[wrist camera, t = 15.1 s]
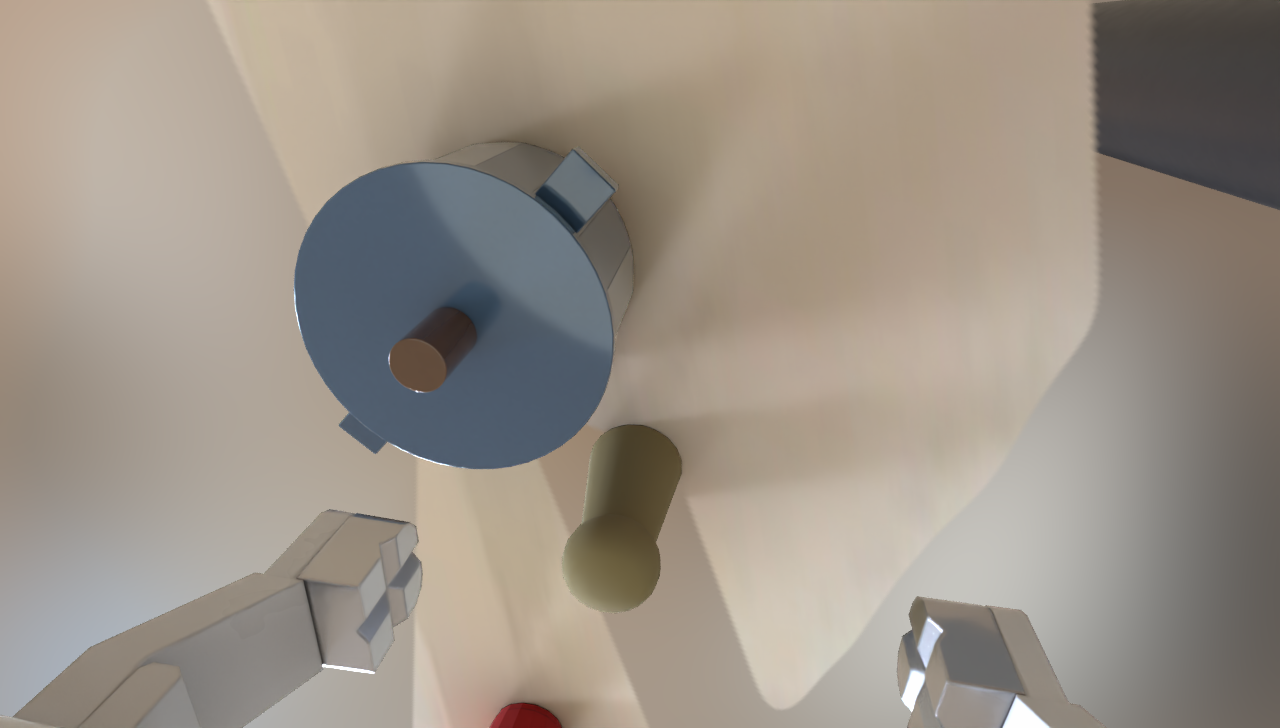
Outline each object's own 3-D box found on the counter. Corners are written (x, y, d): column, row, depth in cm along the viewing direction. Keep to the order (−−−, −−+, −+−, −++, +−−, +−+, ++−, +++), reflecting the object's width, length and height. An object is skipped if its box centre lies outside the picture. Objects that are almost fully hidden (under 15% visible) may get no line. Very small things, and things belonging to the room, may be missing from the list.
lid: (686, 325, 29) (677, 373, 25) (490, 504, 35) (457, 567, 31) (421, 77, 26) (361, 84, 22) (255, 318, 32) (182, 360, 28)
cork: (654, 410, 42) (627, 524, 32) (698, 484, 44) (686, 613, 34) (572, 444, 44) (524, 562, 34) (618, 514, 46) (585, 644, 36)
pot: (718, 231, 36) (712, 289, 28) (509, 434, 44) (454, 528, 36) (527, 41, 34) (456, 42, 25) (338, 294, 41) (235, 360, 33)
